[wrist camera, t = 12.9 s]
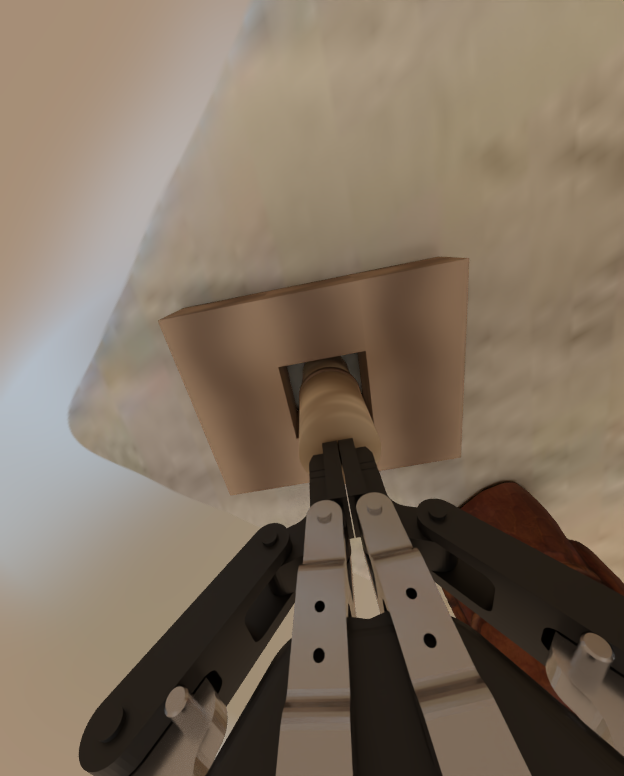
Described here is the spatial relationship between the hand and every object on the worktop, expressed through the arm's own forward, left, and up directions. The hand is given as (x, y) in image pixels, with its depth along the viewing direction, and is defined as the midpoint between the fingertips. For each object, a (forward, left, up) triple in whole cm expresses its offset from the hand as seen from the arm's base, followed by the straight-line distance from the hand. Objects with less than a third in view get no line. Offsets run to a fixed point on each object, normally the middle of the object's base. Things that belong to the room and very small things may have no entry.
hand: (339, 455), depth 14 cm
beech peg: (0, 0, -10) cm, 10 cm away
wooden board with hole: (0, 0, -10) cm, 10 cm away
